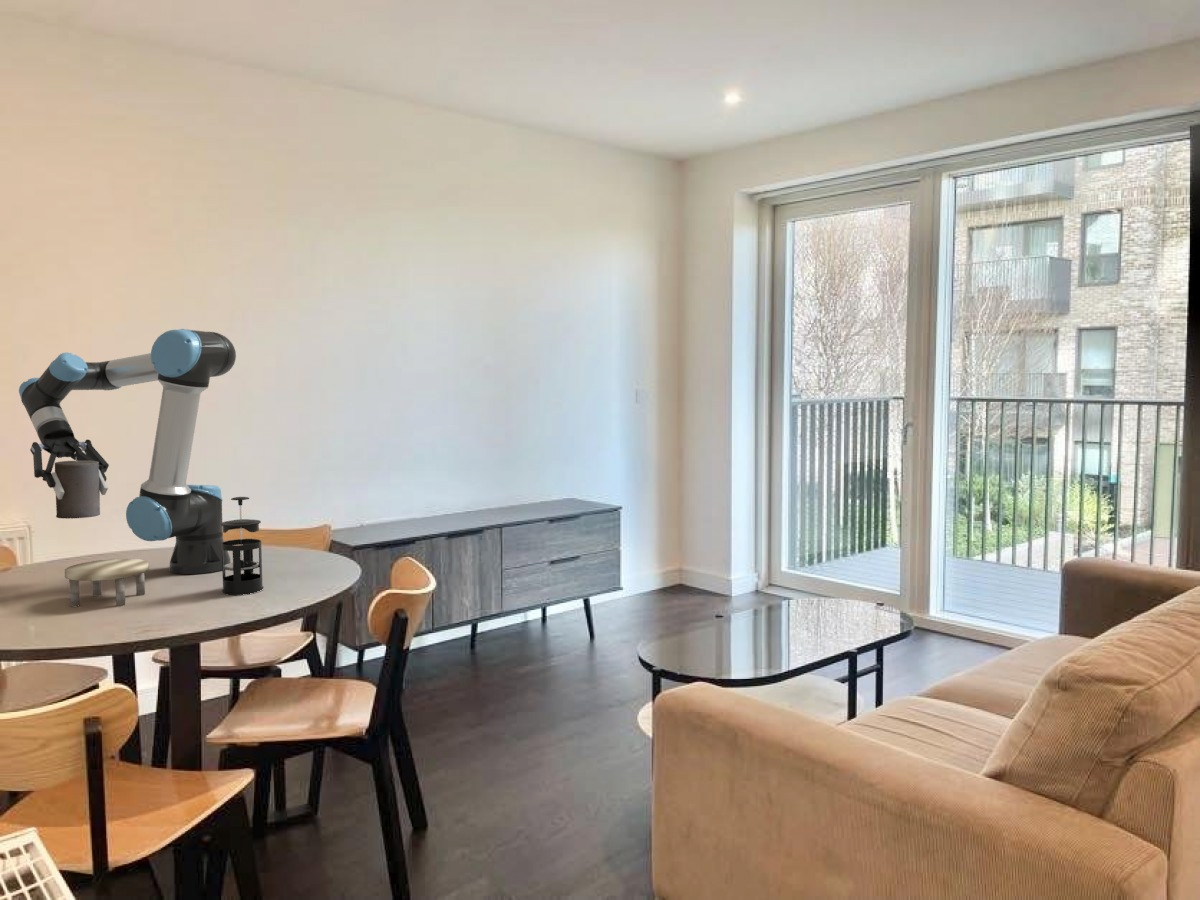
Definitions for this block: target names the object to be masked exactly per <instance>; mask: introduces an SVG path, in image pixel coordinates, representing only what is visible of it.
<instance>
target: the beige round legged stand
mask: <svg viewBox="0 0 1200 900" xmlns="http://www.w3.org/2000/svg"><path fill="white" fill-rule="evenodd" d="M149 569H150V567H149V561H147V560H145V559H141V558H140V559H139V558H114V559H113V558H112V559H111V558H110V559H102V560H101V559H100V560H93V561H86V562H82V563H77V564H73V565H69V566H68V567H66V568H65V569H64V578H65V579H67V580H68V583H69V600H70V601H69V602H70V607H71V606H77V607H79V606H78V605H81V602H80V583H79V582H90V581H91V583H92V596H93V595H100V596H102V595H101V594H103V592H102V581H109V580H114V582H115V584H114V585H115V606H116V607H123V605H124V606H125V605H126V593H125V592H126V591H125V587H126V586H125V578H129V577H130V578H131V577H134V576H135V586H136V587H135V589H136V590H135V591H136V596H144V594H145V595H146V586H145V584H146V582H145V573H146V572H148V571H149Z"/></svg>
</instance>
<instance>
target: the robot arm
mask: <svg viewBox="0 0 1200 900" xmlns="http://www.w3.org/2000/svg"><path fill="white" fill-rule="evenodd" d="M236 353H237V352H236V349H235V346H234V344H233V343H232V341H231V340H230V339H229V338H228V337H227V336H225V335H223V334H221V333H219V332H214V331H205V330H203V331H202V330H194V329H185V328H179V329H170V330H167V331H165V332H162V334H160V335H159V336H158V337H157V338H156V339H155V341H154V342H153V344H152V347H151V351H150V352H149V353H144V354H138V355H134V356H133V355H131V356H128V357H127V356H126V357H120V358H117V359H111V360H105V361H100V362H98V361H97V362H89V361H88V362H87V361H85V360H84V359H83V358H82V357H80V356H79V355H77V354H73V353H72V352H62V353H60V354H58V356H57V357H56V358H55V359H54V360H52V361H51V362H50V364H49V365H48V367H47V368H46V369H45V371H43V373H42V374H41V375H40V376H39V377H32V378H31V377H30V378H29V379H27V380H26V381H23V382H22V383H21V384H20V385H19V388H18V394H19V396H20V400H21V403H22V405H23V406H24V408H25V410H26V412H27V414H28V415H27V416H29V419H30V421H31V424H32V425H33V428H34V429H35V432H36V433H37V434H36V435H37V437H38V438H39V441H40V443H38V442H37V441H33V442H32V444H31V446H30V449H29V450H30V452H31V454H32V456H33V458H32V459H33V475H34V478H37V479H38V478H42V481H43V482H46V484H47V486H48V487H49V488H51V489H53V491H54V493H55V497H56V496H57V498H58V499H62V497H63V495H64V490H63V487H62V485H61V483H60V481H59V479H58V477H57V474H56V472H55V471H54V472H52V471H53V468H54V466H55V463H56V459H62V458H71V459H73V461H76V458H75V457H77V461H97V462H99V491H100V494H101V496H106V493H107V491H108V489H109V487H108V485H107V483H106V482H107V476H106V474H105V473H107V471H108V468H109V467H110V465H109V463H108V462H107V461H106V460H105V458H104V457H103V455H101V454H100V453H99V452H98V450H97V449H95V447H94V446H93V444H92V441H91V440H90V439H86V440H84V441H79V440H78V439H77V438H76V437H75V433H74V432H73V429H72V427H71V425H70V424H69V420H68V419H67V417H66V415H65V413H64V411H63V409H62V407H61V403H62V402H63V400H65V398H66V397H67V396H68V395H69V394H70V392H72V391H99V390H100V391H114V390H118V389H121V388H122V387H127V386H134V385H139V384H144V383H145V384H146V383H150V382H151V383H152V382H156V381H158V382H159V383H160V384H161V386H162V393H161V399H160V407H159V412H158V419H157V424H156V425H157V426H156V431H155V438H154V443H153V450H152V457H151V461H150V463H151V464H150V469H149V476H148V479H147V480H145V481H144V482H142V483H141V484H140V488H139V495H138V496H136V497H135V498H133V500H131V501H130V502H129V503H128V505H127V507H126V511H125V520H126V523H127V525H128V527H129V529H131V531H132V534H133V535H134V536H135V537H138V539H140V540H142V541H145V542H156V541H161V542H162V541H165V540H167V539H172V538H175V544H174V547H173V550H172V553H171V556H170V557H171V558H170V560H169V572H171V573H172V574H173V573H174V574H181V575H185V574H186V575H195V574H209V573H215V572H219V571H222V542H225V541H224V535H223V526H222V525H221V523H222V522H223V498H222V490H221V488H220V487H219V486H218V485H210V484H209V485H208V484H205V485H204V484H187V478H188V473H189V468H190V467H189V466H190V459H191V454H192V453H191V452H192V447H193V442H194V434H195V429H196V423H197V417H198V412H199V411H198V410H199V404H200V401H201V400H200V399H201V393H203V392H204V391H205V390H207V389H208V388H209V384H210V379H211V378H214V377H220V376H224V375H225V374H227V373H228V372H229V371H230V370H231V369H232V368H233V367H234V366H235V362H236V358H237V354H236ZM43 450H44V451H45V452H47V453H49V454H50V455H49V458H48V461H47V464H46V468H45V469H43V456H42V451H43ZM229 563H232V561H231V556H230V554H229V552H228V551H226V550H225V565H226V564H229Z"/></svg>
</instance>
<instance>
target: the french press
mask: <svg viewBox="0 0 1200 900" xmlns="http://www.w3.org/2000/svg"><path fill="white" fill-rule="evenodd" d="M249 499H250V497H249V496H234V497H232V498H231V499H230V500H231V501H237V503H238V506H239V519H233V520H232V519H231V520H228V521H227V520H226V521H222V523H221V525H222V527H223V533H224V534H225V533H227V532H228V531H230V530H238V529H239V530H240V531H239V533H240V538H239V539H230V540H225V541H224V542H222V570H221V571H222V590H221V593H222V594H223V595H226V594H228V596H244V595H243V594H247V595H251V594H250V593H253V594H255V593H254V592H257V591H260V590H262V589H263V588H264V586H263V558H262V556H263V555H262V552H263V551H262V539H261V540H260V539H256V538H243V529H244V530H245V531H248V532H249V533H256V532H259V530H260V524H261V522H262V521H261V520H258V519H249V518H243V519H242V506H243V501H245V500H249ZM257 549H258V561H254V551H253V550H257ZM225 550H226V551H229V552H232V562H231V563H229V564H226V565H225ZM258 568H259V573H256V572H255V573H254V569H258ZM226 571H231V572H232V573H233V574H231V575H227V576H226ZM242 571H243V573H242ZM263 590H264V589H263ZM263 590H262V591H263ZM260 592H261V591H260ZM257 593H258V592H257Z"/></svg>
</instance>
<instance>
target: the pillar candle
mask: <svg viewBox="0 0 1200 900" xmlns="http://www.w3.org/2000/svg"><path fill="white" fill-rule="evenodd" d="M75 458H76V460H64V461H63V460H62V461H57V462H56V461H55V462H54V472H56V474H57V477H58V479H59V481H60V483H61V485H62V487H63V490H64V495H63V497H62V499H58V498H57V496H56V495H55V504H56V505H55V508H56V509H55V510H56V515H55V517H56V518H57V519H67V520H69V519H70V520H73V519H85V518H92V517H93V518H94V517H98V516H100V515H101V502H100V501H101V499H100V498H101V497H100V496H101V495H100V494H101V492H100V490H99V462H97V461H77V457H75Z"/></svg>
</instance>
